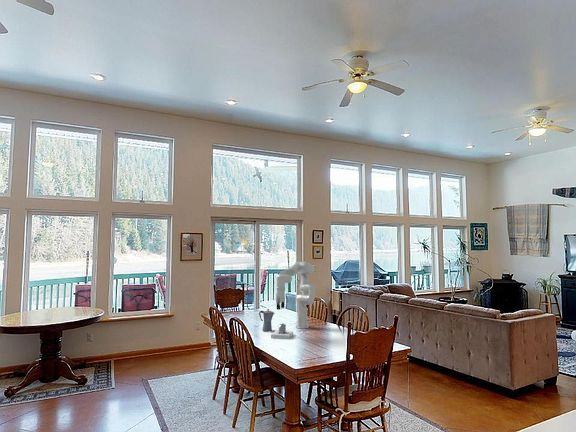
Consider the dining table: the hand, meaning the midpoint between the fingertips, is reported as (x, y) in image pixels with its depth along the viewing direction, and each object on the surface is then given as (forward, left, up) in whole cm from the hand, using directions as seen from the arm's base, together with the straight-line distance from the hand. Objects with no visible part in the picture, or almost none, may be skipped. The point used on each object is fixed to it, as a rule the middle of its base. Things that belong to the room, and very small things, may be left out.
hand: (280, 308), depth 336 cm
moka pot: (-17, -18, -24) cm, 34 cm away
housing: (+1, +2, -24) cm, 24 cm away
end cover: (+1, +2, -24) cm, 24 cm away
